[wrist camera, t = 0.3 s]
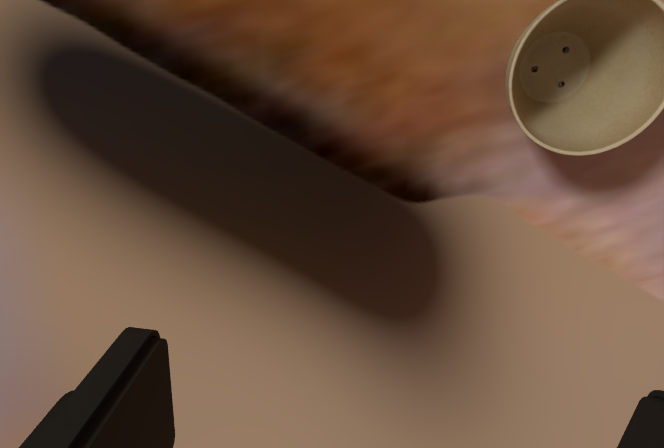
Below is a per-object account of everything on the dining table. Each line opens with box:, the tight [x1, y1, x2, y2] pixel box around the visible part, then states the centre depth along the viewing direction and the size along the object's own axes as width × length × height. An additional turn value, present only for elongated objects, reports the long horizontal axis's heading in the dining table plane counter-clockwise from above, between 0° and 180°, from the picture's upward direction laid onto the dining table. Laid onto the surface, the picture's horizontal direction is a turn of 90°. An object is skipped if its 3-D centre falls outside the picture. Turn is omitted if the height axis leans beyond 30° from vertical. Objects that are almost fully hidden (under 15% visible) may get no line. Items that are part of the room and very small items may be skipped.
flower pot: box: [505, 0, 664, 156], centre depth 31 cm, size 10×10×7 cm
